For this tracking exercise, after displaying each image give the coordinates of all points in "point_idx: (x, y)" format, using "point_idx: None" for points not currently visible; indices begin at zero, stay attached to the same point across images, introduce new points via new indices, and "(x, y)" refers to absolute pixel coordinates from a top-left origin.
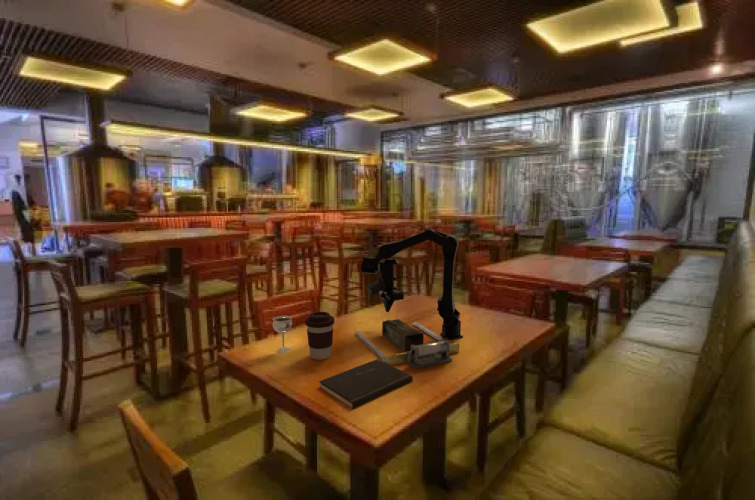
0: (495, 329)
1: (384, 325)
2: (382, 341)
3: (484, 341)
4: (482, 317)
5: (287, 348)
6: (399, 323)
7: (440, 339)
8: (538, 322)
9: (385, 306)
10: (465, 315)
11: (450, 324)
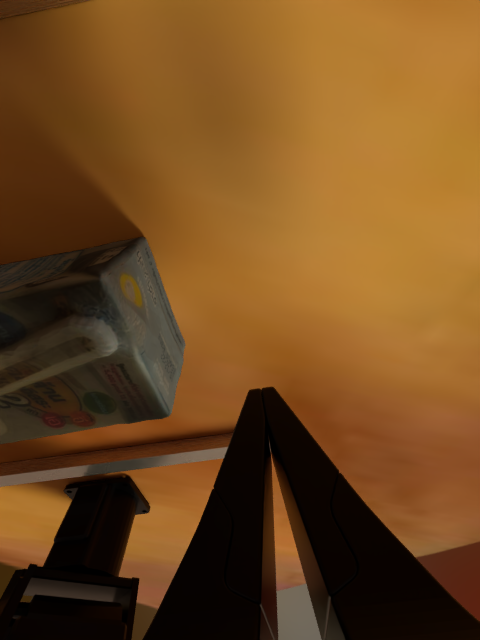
0: (162, 566)
1: (70, 276)
2: (7, 201)
3: None
4: None
5: None
6: (51, 401)
7: (26, 472)
8: None
9: (256, 451)
10: None
11: (13, 575)
